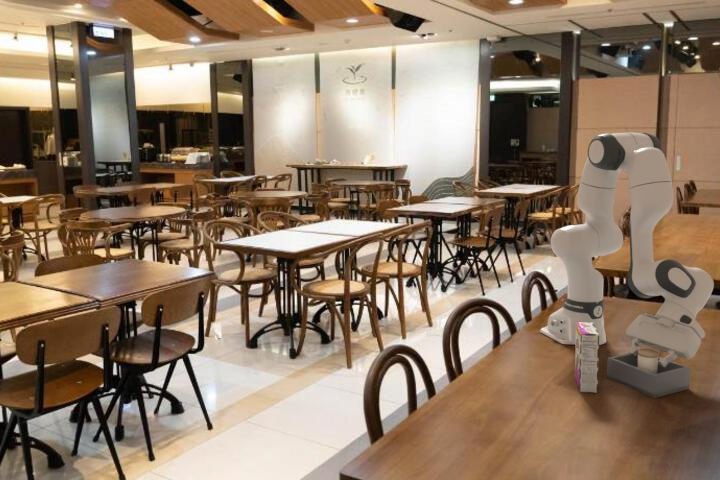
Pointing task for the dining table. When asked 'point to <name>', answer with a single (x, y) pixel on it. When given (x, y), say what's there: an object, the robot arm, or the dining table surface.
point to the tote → (648, 376)
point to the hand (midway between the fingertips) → (646, 359)
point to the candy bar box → (586, 357)
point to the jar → (648, 360)
